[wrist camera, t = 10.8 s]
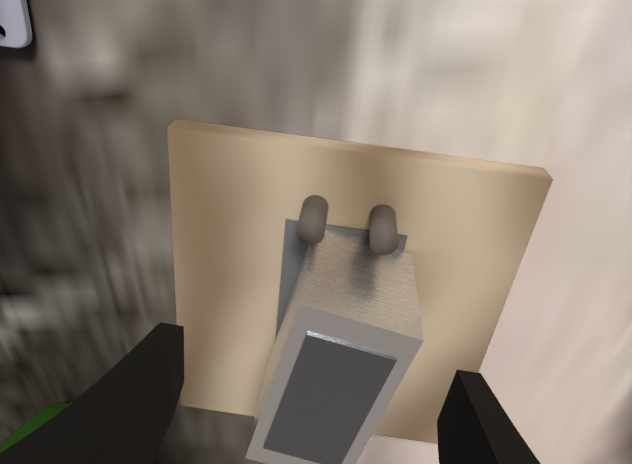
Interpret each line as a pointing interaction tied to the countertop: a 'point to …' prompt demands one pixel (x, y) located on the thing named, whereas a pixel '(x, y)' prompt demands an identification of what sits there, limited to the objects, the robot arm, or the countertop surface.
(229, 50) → the countertop surface
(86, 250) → the countertop surface
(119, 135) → the countertop surface
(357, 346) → the grey box
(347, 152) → the beige peg board
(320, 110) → the countertop surface
